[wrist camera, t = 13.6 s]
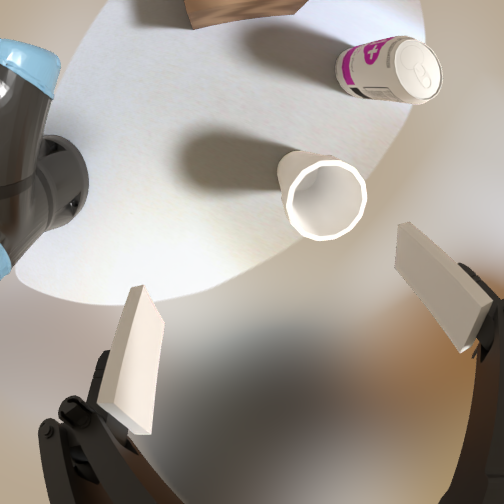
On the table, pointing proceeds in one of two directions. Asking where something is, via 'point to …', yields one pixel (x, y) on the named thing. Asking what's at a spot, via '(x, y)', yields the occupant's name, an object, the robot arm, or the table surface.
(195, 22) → the walnut block
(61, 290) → the table surface
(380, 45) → the supplement can
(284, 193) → the foam cup
